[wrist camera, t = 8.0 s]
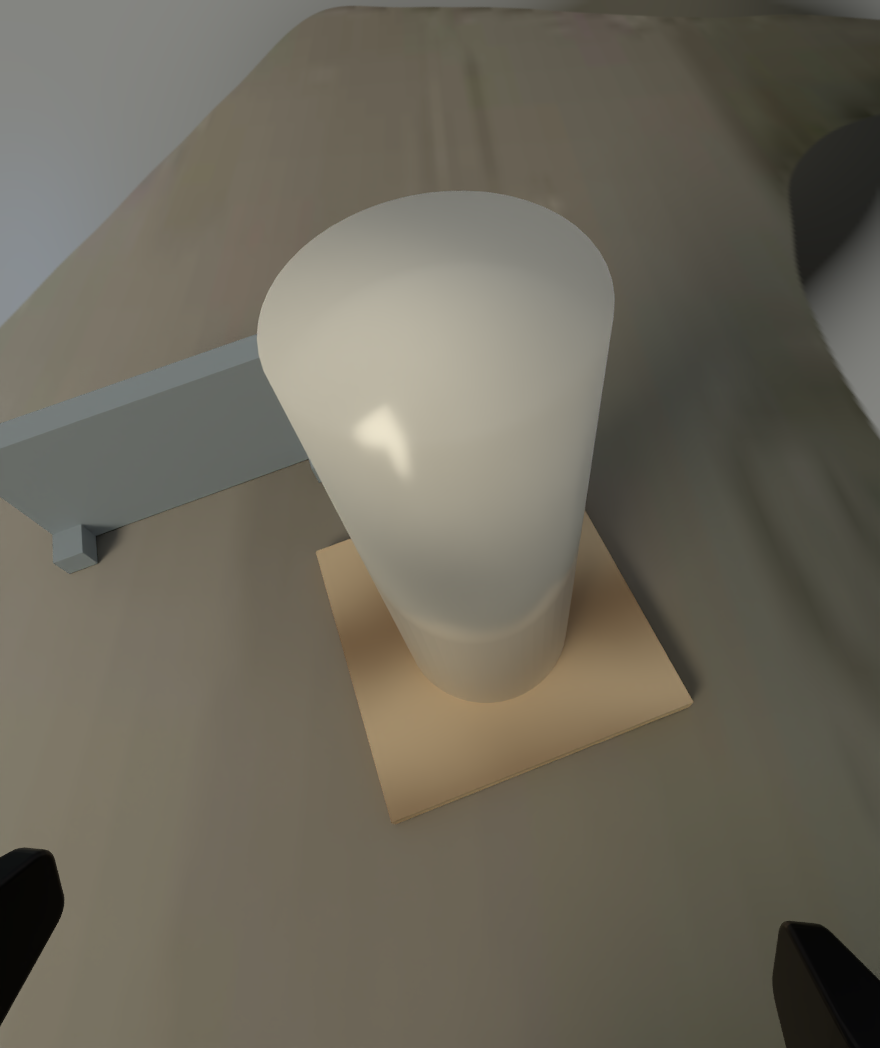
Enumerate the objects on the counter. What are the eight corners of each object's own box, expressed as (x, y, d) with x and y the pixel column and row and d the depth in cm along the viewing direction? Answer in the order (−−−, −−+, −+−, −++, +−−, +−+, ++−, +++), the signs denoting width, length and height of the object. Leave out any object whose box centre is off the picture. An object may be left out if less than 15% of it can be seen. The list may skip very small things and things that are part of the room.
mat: (689, 707, 20) (693, 702, 20) (395, 824, 20) (391, 822, 19) (557, 470, 25) (557, 461, 25) (320, 558, 25) (315, 551, 24)
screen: (345, 473, 27) (300, 373, 21) (69, 573, 26) (-48, 496, 21) (323, 405, 29) (276, 300, 23) (66, 497, 28) (-41, 410, 23)
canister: (576, 697, 20) (647, 425, 8) (407, 707, 21) (235, 466, 9) (555, 540, 23) (584, 164, 11) (406, 552, 24) (276, 206, 11)
